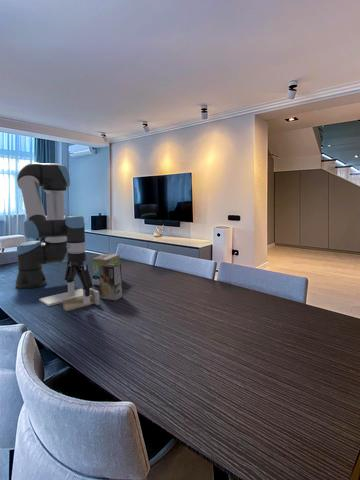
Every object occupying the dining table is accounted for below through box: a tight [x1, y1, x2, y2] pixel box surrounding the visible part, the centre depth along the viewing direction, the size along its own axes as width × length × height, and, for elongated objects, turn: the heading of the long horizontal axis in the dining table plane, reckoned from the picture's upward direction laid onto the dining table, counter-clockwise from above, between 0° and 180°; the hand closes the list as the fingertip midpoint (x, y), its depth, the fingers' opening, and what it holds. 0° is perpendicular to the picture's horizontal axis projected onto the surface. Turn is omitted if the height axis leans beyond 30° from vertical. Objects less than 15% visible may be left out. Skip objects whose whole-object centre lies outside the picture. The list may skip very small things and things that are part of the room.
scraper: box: [62, 287, 100, 312], centre depth 133 cm, size 8×14×6 cm, turn 136°
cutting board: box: [38, 287, 84, 307], centre depth 145 cm, size 10×24×1 cm, turn 136°
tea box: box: [91, 253, 121, 286], centre depth 170 cm, size 15×10×15 cm, turn 168°
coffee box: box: [98, 263, 123, 301], centre depth 144 cm, size 9×6×16 cm
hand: (78, 299), depth 133 cm, fingers open, 13 cm apart
